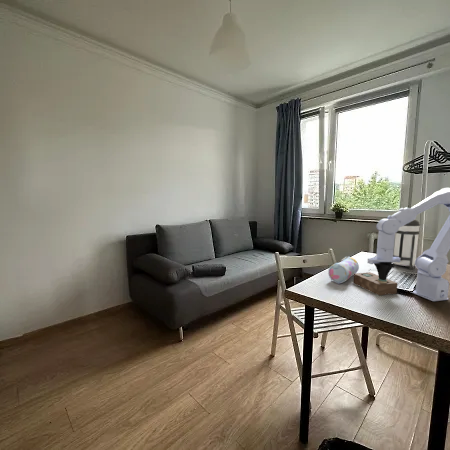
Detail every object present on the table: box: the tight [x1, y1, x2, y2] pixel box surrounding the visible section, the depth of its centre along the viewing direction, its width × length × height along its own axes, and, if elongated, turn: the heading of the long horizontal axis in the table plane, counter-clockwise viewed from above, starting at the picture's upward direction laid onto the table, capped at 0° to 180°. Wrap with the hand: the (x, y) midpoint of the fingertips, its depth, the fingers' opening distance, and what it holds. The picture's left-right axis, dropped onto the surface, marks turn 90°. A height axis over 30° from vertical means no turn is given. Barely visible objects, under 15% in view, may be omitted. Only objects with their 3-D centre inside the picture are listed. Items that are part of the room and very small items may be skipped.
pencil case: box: [327, 256, 360, 284], centre depth 116 cm, size 21×9×10 cm, turn 137°
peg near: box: [378, 278, 388, 283], centre depth 100 cm, size 3×3×4 cm
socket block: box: [352, 271, 398, 296], centre depth 104 cm, size 14×9×4 cm, turn 12°
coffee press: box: [391, 219, 421, 271], centre depth 134 cm, size 17×16×30 cm
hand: (382, 279), depth 100 cm, fingers closed, pressing on peg near
